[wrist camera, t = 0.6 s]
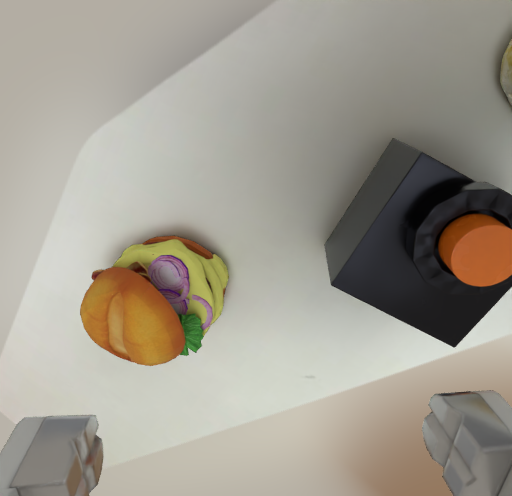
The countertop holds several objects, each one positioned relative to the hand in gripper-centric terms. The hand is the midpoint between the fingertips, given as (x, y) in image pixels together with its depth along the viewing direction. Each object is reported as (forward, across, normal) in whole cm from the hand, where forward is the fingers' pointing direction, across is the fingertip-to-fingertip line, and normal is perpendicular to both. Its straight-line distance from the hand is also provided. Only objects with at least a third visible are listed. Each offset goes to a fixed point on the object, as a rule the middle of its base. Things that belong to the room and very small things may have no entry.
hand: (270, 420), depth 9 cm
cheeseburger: (+25, +6, +10) cm, 27 cm away
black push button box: (+21, -14, +3) cm, 25 cm away
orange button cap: (+12, -13, +1) cm, 18 cm away
